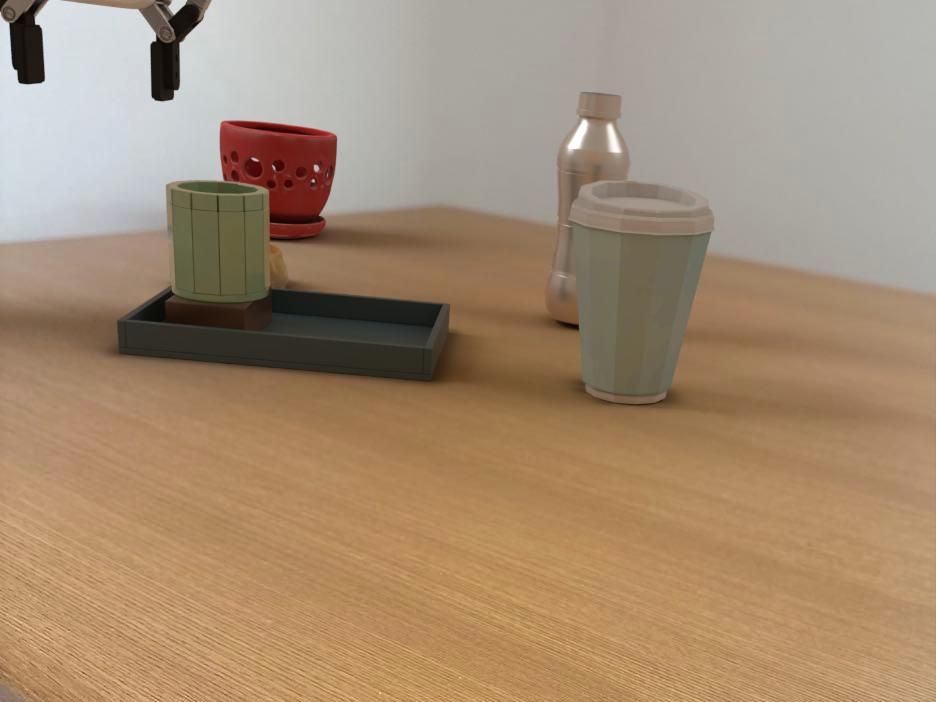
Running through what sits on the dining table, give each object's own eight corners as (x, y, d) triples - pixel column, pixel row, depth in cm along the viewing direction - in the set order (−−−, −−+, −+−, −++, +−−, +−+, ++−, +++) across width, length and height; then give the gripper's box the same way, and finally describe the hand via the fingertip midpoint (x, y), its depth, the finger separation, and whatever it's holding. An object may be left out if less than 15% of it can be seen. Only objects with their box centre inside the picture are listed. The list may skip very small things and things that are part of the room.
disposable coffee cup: (709, 417, 82) (741, 205, 76) (564, 412, 80) (586, 195, 74) (670, 374, 92) (696, 183, 86) (540, 369, 90) (557, 173, 84)
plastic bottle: (601, 336, 101) (628, 99, 93) (531, 324, 103) (551, 90, 95) (622, 322, 107) (648, 97, 99) (555, 311, 109) (575, 89, 101)
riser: (166, 339, 86) (164, 300, 85) (200, 313, 95) (199, 277, 93) (245, 346, 87) (244, 308, 85) (272, 319, 95) (272, 283, 94)
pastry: (194, 295, 102) (192, 252, 101) (174, 279, 107) (172, 238, 106) (294, 291, 107) (293, 250, 105) (270, 276, 112) (269, 237, 110)
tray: (118, 353, 84) (116, 320, 83) (181, 307, 98) (179, 278, 97) (430, 381, 84) (432, 349, 83) (448, 332, 98) (450, 303, 97)
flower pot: (279, 247, 125) (279, 133, 120) (197, 228, 132) (193, 119, 127) (358, 237, 136) (360, 131, 131) (279, 219, 142) (278, 118, 137)
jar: (159, 297, 86) (153, 189, 83) (188, 278, 93) (183, 177, 89) (256, 306, 86) (254, 198, 83) (278, 286, 93) (277, 185, 90)
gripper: (229, -153, 80) (228, 103, 87) (-17, -186, 80) (2, 75, 87) (198, -170, 73) (200, 109, 80) (-71, -206, 73) (-46, 78, 80)
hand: (97, 91), depth 83 cm, fingers open, 9 cm apart
